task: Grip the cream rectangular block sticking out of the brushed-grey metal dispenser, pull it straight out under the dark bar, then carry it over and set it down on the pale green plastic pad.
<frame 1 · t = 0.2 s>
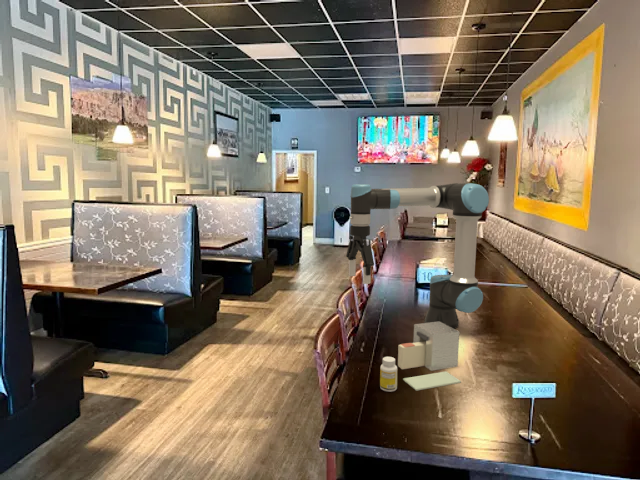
hand: (359, 279, 171), 28 cm above the table, fingers open, 13 cm apart
supplement bottle: (388, 388, 142), on the table
dispenser: (434, 362, 162), on the table
pad: (431, 381, 147), on the table
cream rectangular block: (415, 365, 160), on the table
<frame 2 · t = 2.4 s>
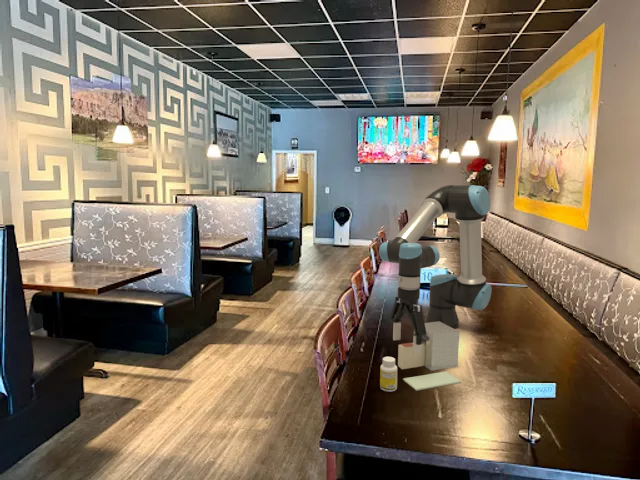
hand: (406, 346, 157), 8 cm above the table, fingers open, 13 cm apart
nothing on the table moved.
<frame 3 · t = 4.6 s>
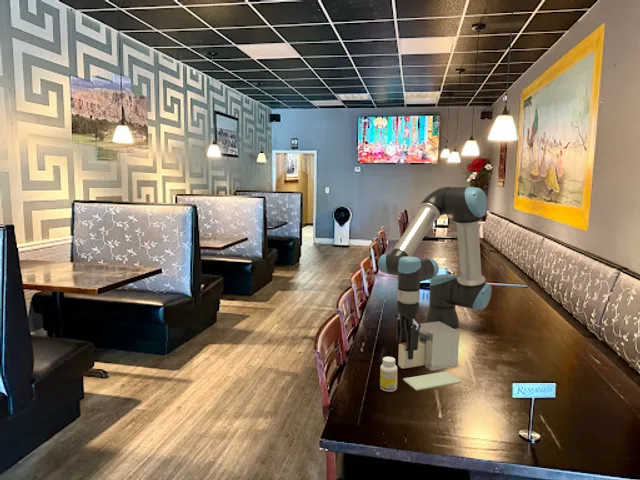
hand: (405, 364, 158), 1 cm above the table, fingers closed on cream rectangular block, 3 cm apart
cream rectangular block: (416, 364, 160), on the table, touching gripper
everything else where it was.
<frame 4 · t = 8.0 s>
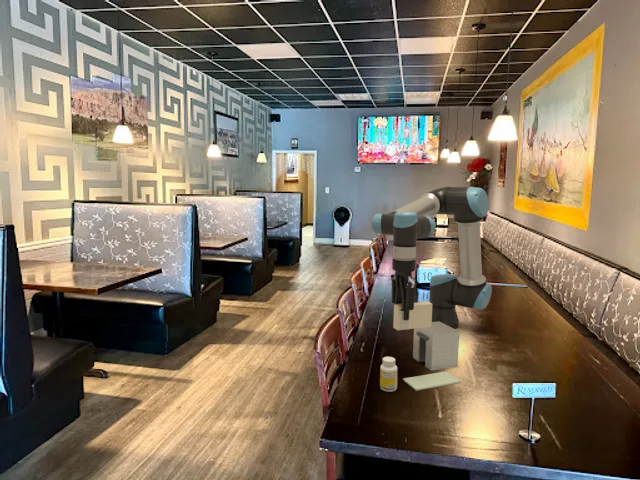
hand: (401, 327, 149), 17 cm above the table, fingers closed on cream rectangular block, 3 cm apart
cream rectangular block: (412, 327, 151), point 16 cm above the table, touching gripper
everything else where it was.
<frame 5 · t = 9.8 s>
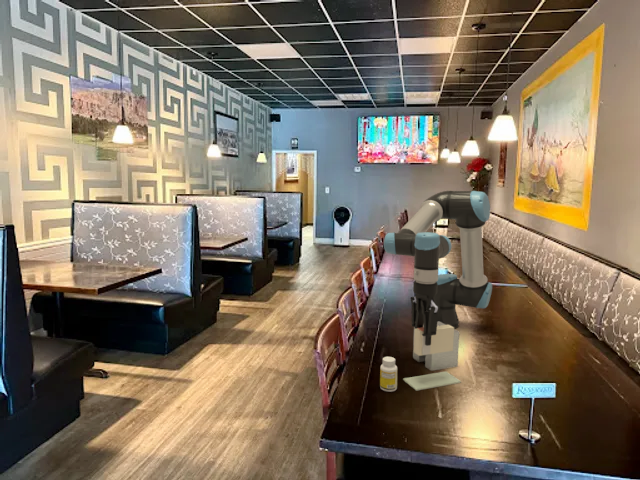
hand: (422, 351, 144), 11 cm above the table, fingers closed on cream rectangular block, 3 cm apart
cream rectangular block: (433, 351, 145), point 10 cm above the table, touching gripper
everything else where it was.
when the fingers open (1 cm above the table, at t = 11.6 s): cream rectangular block stays where it is, resting on pad.
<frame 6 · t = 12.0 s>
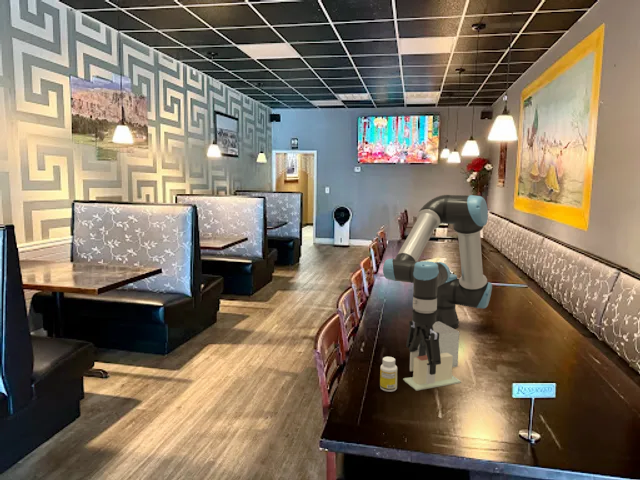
hand: (421, 376, 145), 2 cm above the table, fingers open, 9 cm apart
cream rectangular block: (432, 379, 147), resting on pad
everything else where it was.
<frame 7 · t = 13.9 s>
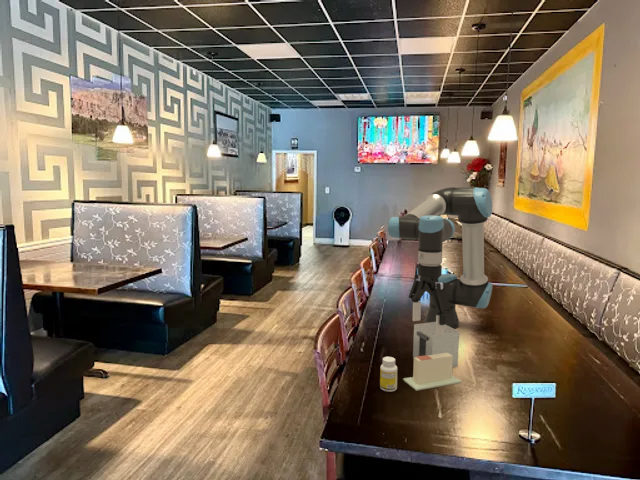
hand: (427, 327, 146), 18 cm above the table, fingers open, 13 cm apart
nothing on the table moved.
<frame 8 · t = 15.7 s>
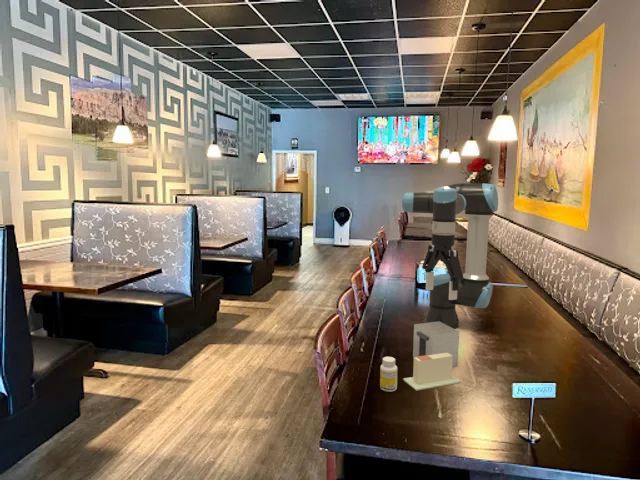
hand: (440, 294, 154), 27 cm above the table, fingers open, 13 cm apart
nothing on the table moved.
at the end: cream rectangular block inside the target area on the pad (0.2 cm from its centre), point 0.5 cm above the pad's base; cream rectangular block touching pad; the gripper is holding nothing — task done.
